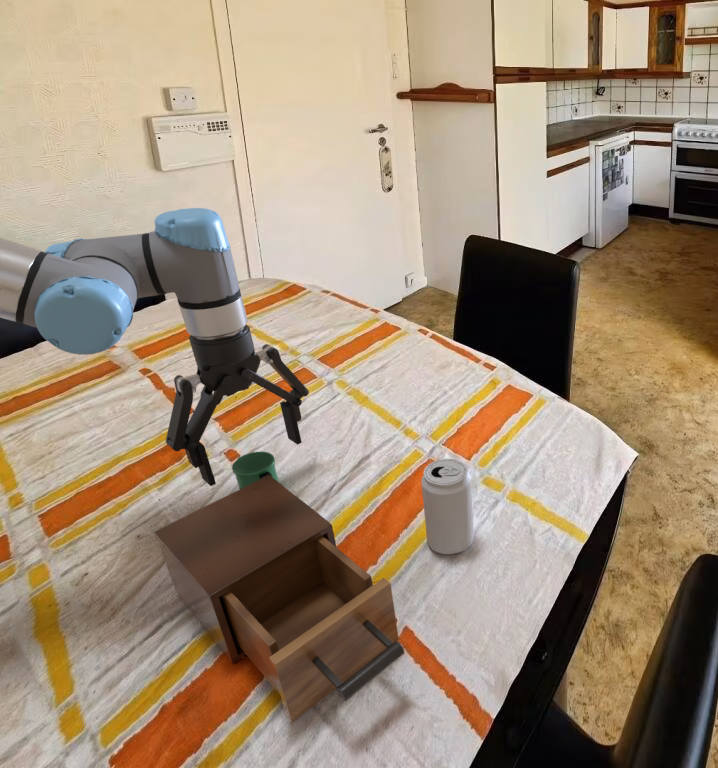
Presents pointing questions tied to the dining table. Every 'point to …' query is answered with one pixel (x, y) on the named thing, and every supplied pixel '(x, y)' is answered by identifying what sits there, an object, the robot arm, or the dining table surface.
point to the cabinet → (235, 548)
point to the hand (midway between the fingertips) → (254, 460)
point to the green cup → (254, 468)
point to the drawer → (314, 625)
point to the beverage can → (448, 506)
